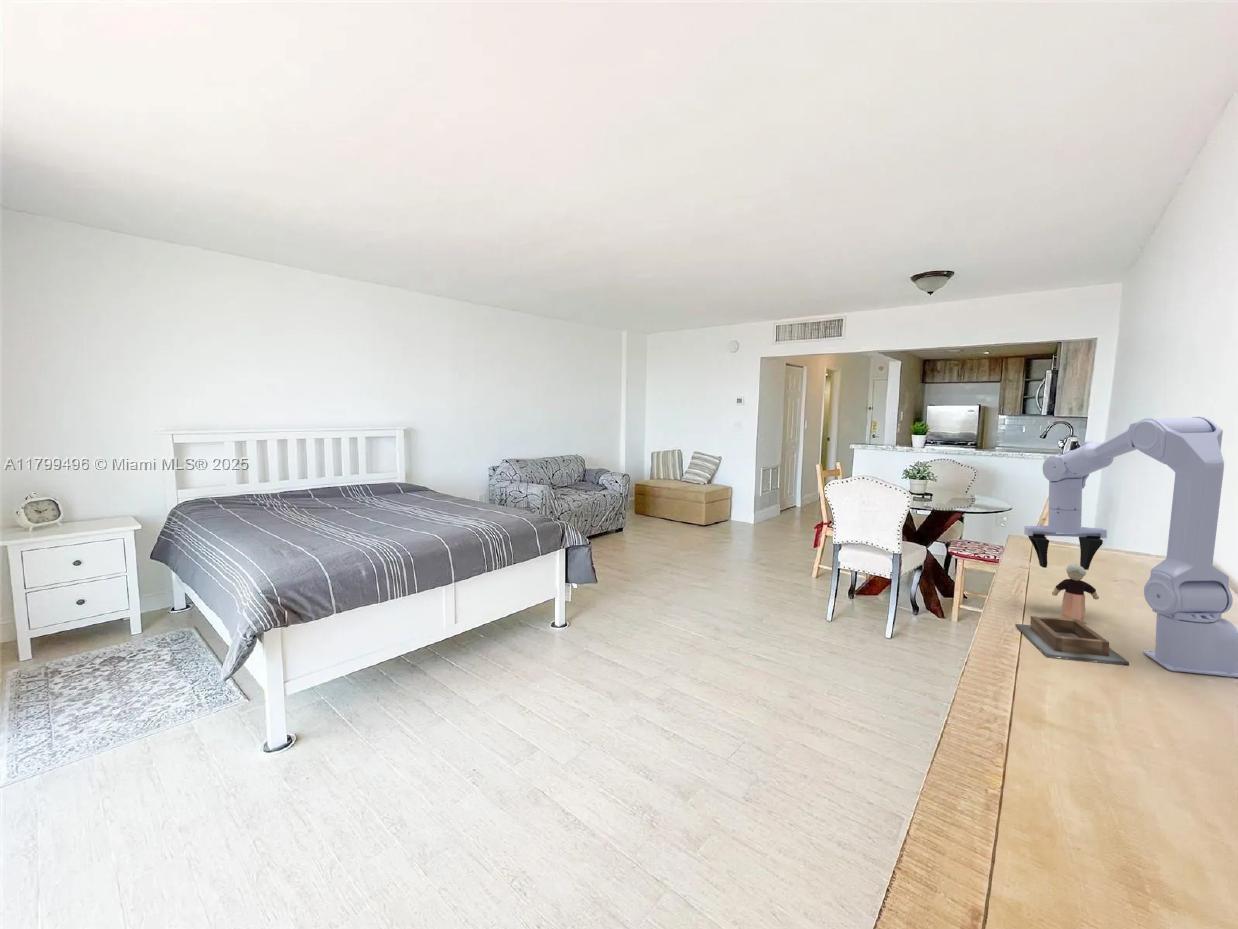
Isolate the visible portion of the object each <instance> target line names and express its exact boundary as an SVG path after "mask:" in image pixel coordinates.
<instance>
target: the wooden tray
mask: <svg viewBox="0 0 1238 929" xmlns="http://www.w3.org/2000/svg"><path fill="white" fill-rule="evenodd" d="M1029 622H1030V624H1021V623H1020V624H1019V623H1015V624H1014V625H1015V626H1016V627H1017V628H1018V629H1019V630H1020V631H1021V632H1022V633H1023V634H1024V637H1026V639H1027V640H1029V642H1030V643H1032V644H1033V643H1034V644H1035V645H1034V644H1033V645H1034V646H1035V647H1036V648H1037V647H1038V648H1039V649H1040V650H1041V651H1042V652H1043V653H1044V654H1045V655H1046V656H1047V657H1046V656H1045V655H1044V654H1043V653H1042V652H1041V651H1040V650H1039V649H1038V648H1037V649H1038V650H1039V651H1040V652H1041V653H1042V654H1043V655H1044V656H1045V657H1046V658H1049V657H1061V658H1068V659H1067V660H1069V659H1073V660H1072V661H1079V660H1081V662H1089V661H1097V662H1096V663H1099V662H1102V664H1109V663H1112V665H1119V664H1127V665H1126V666H1130V662H1129V661H1128V660H1127V659H1125V658H1124V657H1123V656H1121V654H1119V653H1117V652H1116V651H1115V650H1113V649H1112V648H1111V647H1110V641H1108V640H1107V639H1106V638H1104V637H1103V636H1101V635H1099V633H1097V632H1096V631H1094V630H1093V628H1090V627H1089V626H1087V625H1086V623H1085V624H1083V623H1082V622H1080V621H1079V620H1075V619H1062V618H1060V617H1047V616H1036V615H1035V616H1033V615H1030V621H1029ZM1015 626H1014V627H1015ZM1016 627H1015V628H1016ZM1017 628H1016V629H1017ZM1018 629H1017V630H1018ZM1019 630H1018V631H1019ZM1020 631H1019V632H1020ZM1021 632H1020V633H1021ZM1022 633H1021V634H1022ZM1023 634H1022V635H1023ZM1103 662H1104V663H1103Z"/></svg>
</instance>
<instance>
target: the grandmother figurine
mask: <svg viewBox="0 0 1238 929" xmlns="http://www.w3.org/2000/svg"><path fill="white" fill-rule="evenodd" d="M1065 571H1066V574H1067V576H1068V578H1064V579H1063V580H1062V581H1060V582H1059V583H1058V584H1056V586H1055V587H1054V589H1053V590H1052V592H1051V594H1052V596H1053V597H1054V596H1055V597H1057V596H1058V595H1059V593H1060V592H1061V591H1064V592H1063V597H1062V603H1061V609H1060V610H1061V612H1060V615H1061V616H1060V617H1059V618H1062V619H1075V620H1079V621H1080V622H1082V623H1083V624H1085V625H1086V624H1087V623H1086V621H1085V619H1084V618H1085V614H1086V612H1085V611H1086V595H1085V593H1088V594H1090V596H1092V599H1093V600H1099V599H1100V597H1099V595H1098V593H1097V589H1096V588H1094V586H1093V585H1091V584H1090V583H1088V582H1086V581H1083V580H1082V579H1083V578H1084V577H1085V576H1086V574H1087V571H1086V570H1084V568H1083V567H1081V566H1080V564H1079V565H1078V564H1077V563H1070V564H1069V565H1068V566H1066V568H1065Z"/></svg>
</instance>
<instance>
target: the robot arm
mask: <svg viewBox="0 0 1238 929" xmlns="http://www.w3.org/2000/svg"><path fill="white" fill-rule="evenodd" d="M1223 432H1224V430H1223V429H1222V428H1221V427H1220V426H1219V425H1218V424H1216V423H1215V422H1214V421H1212V420H1211V419H1210V418H1207V417H1205V416H1192V417H1175V418H1174V417H1170V418H1169V417H1168V418H1154V417H1147V418H1142V419H1140V420H1138V421H1136V422H1132V423H1130V424H1129V427H1128V428H1127V429H1124V430H1123V431H1121V432H1119V433H1118V434H1116V435H1114V436H1112V437H1110V438H1109V439H1107V440H1104V441H1103V442H1098V441H1092V440H1091V441H1088V440H1087V441H1084V442H1082V443H1081V446H1080V447H1078V448H1075V449H1072V450H1071V449H1070V450H1068V451H1065V454H1063V455H1050V456H1048V457H1047V458H1046V459H1045V460H1044V461H1043V464H1042V474H1043V476H1044V477H1045V479H1046V480H1047V481H1048V519H1047V520H1048V521H1047V522H1048V524H1047V525H1025V526H1024V528H1023V529H1024V535H1025V536H1028V539H1029V541H1030V542H1031V544H1032V546H1033V548H1034V550H1035V553H1036V557H1037V558H1038V564H1039V566H1040V567H1042V568H1045V569H1046V568H1048V550H1049V549H1048V548H1049V546H1050V545H1049V544H1050V540H1049V539H1048V538H1047V537H1076V538H1078V541H1079V548H1080V558H1079V559H1080V560H1079V566H1081V567H1083V568H1084V570H1085V571H1086V570H1087V571H1089V570H1090V566H1091V563H1092V561H1093V559H1094V556H1095V555H1096V553H1097V552H1098V550H1099V549H1100V547H1101V546H1102V545H1103V543H1104V540H1103V539H1107V534H1108V533H1107V532H1108V530H1107V529H1106V528H1101V527H1100V528H1098V527H1083V526H1082V513H1083V512H1082V511H1083V509H1082V506H1083V489H1085V487H1086V480H1087V479H1088V477H1089V476H1090V474H1092V473H1094V472H1097V471H1100V470H1102V469H1105V468H1106V467H1109V466H1111V465H1112V463H1113V462H1114V459H1115V458H1117V457H1119V456H1121V455H1122V456H1123V455H1125V454H1129V453H1130V452H1133V451H1136V450H1138V451H1139V452H1140V453H1142V454H1144V455H1146V456H1147V457H1150V458H1152V459H1154V460H1156V461H1158V462H1160V463H1161V464H1163V465H1167V467H1168V468H1170V470H1172V471H1174V481H1173V482H1174V483H1173V492H1172V500H1171V501H1172V503H1171V511H1170V521H1169V522H1170V523H1169V530H1168V539H1167V541H1168V542H1167V550H1166V558H1165V559H1164V560H1162V561H1161V562H1160V563H1158V564H1156V565H1155V566H1154V567H1152V568H1151V569H1150V576H1149V578H1148V580H1146V583H1145V585H1144V587H1143V596H1144V599H1145V601H1146V603H1147V604H1148V606H1149V607H1150V608H1151V609H1152V610H1151V611H1152V612H1154V613H1156V621H1155V622H1156V623H1155V645H1154V646H1155V649H1154V650H1148V649H1147V650H1146V649H1144V650H1143V651H1142V653H1143V654H1145V656H1147V657H1149V658H1151V659H1152V660H1153V661H1155V662H1156V663H1157V664H1158V665H1161V666H1162V667H1164V668H1165V669H1167V670H1168V671H1172V672H1181V673H1189V674H1201V675H1210V676H1220V677H1221V676H1222V677H1230V678H1231V677H1232V678H1238V629H1237V627H1236V625H1235V624H1234V623H1233V622H1231V621H1230V620H1228V619H1226V618H1223V617H1222V614H1225V613H1227V612H1229V611H1230V610H1231V608H1232V606H1233V600H1234V599H1233V594H1232V592H1231V590H1230V586H1229V585H1230V584H1229V580H1230V576H1229V575H1227V574H1226V573H1225V572H1224V571H1222V569H1221V570H1220V569H1219V568H1217V567H1216V566H1215V565H1214V555H1215V548H1216V538H1217V532H1218V531H1217V530H1218V522H1219V513H1220V505H1221V494H1222V487H1223V481H1224V480H1223V478H1224V470H1225V460H1224V458H1223V455H1222V451H1221V450H1222V440H1223ZM1046 536H1047V537H1046Z"/></svg>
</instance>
